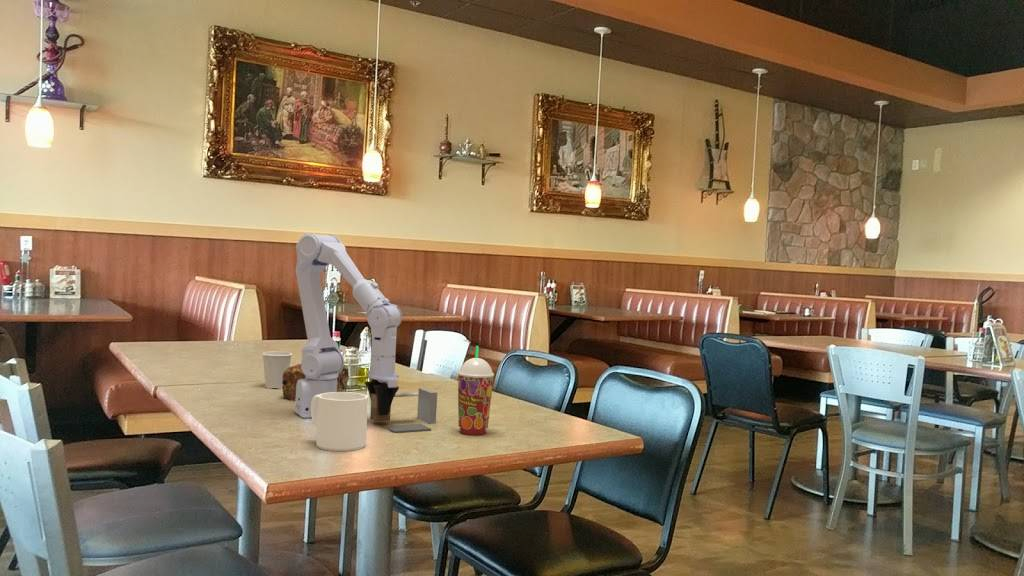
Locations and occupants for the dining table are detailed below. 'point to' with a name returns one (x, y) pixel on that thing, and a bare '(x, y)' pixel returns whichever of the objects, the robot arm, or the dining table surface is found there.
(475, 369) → the smoothie
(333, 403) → the mug
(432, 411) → the tile
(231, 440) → the dining table surface
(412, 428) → the mat
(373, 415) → the brown white angled block
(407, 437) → the dining table surface
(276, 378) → the dixie cup
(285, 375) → the bread
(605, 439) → the dining table surface
